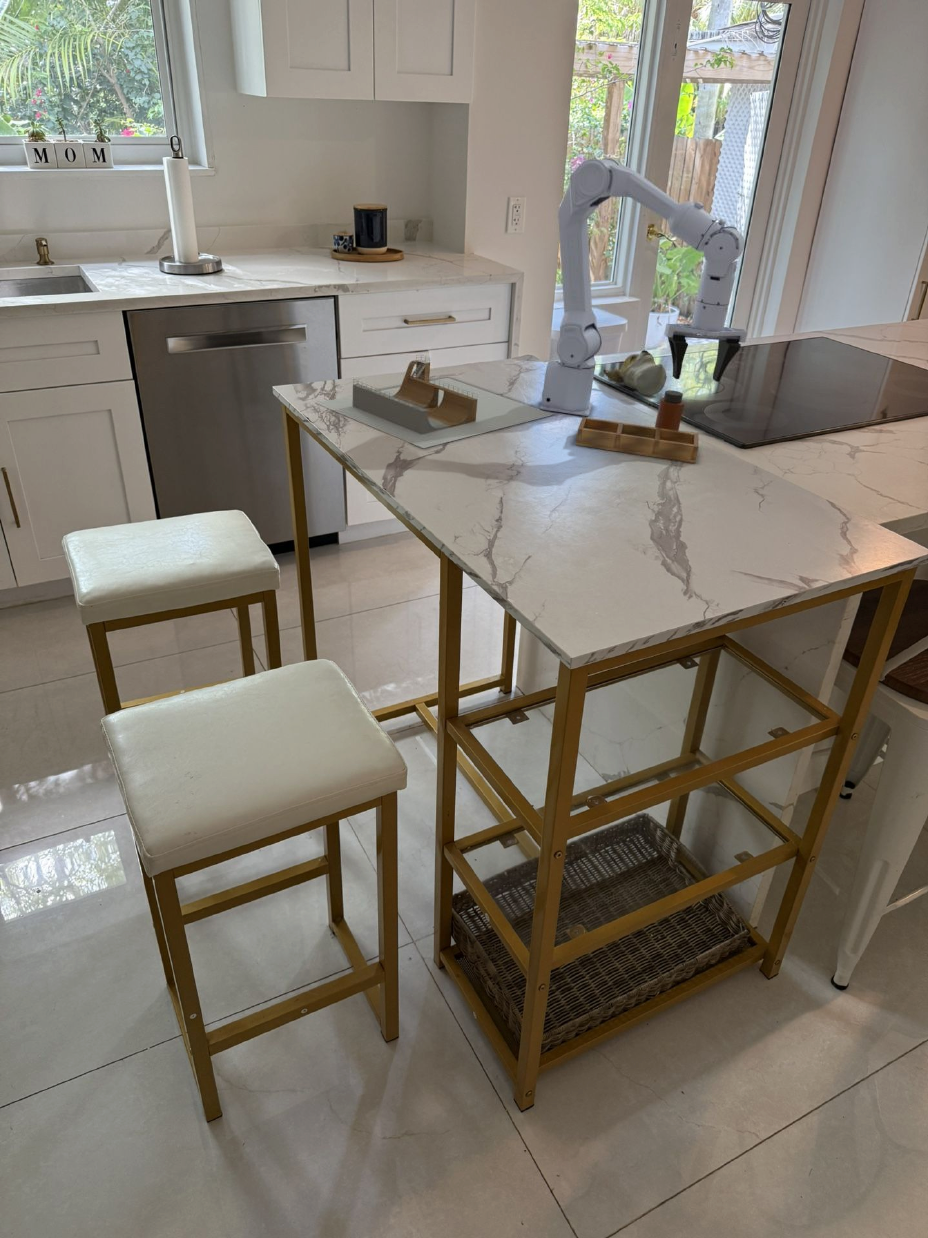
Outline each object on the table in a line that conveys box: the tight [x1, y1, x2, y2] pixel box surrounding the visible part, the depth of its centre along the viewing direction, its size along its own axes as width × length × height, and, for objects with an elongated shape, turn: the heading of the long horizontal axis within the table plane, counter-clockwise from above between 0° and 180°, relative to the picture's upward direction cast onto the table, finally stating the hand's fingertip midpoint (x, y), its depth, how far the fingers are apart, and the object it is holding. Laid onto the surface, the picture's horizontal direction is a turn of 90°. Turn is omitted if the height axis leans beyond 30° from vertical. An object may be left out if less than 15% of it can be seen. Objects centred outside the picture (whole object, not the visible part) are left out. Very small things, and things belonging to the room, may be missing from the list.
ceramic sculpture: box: [602, 349, 668, 397], centre depth 190 cm, size 11×9×15 cm
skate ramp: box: [315, 354, 555, 449], centre depth 165 cm, size 29×35×8 cm
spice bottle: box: [654, 389, 685, 431], centre depth 163 cm, size 4×4×8 cm
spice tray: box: [575, 416, 700, 464], centre depth 157 cm, size 21×8×3 cm, turn 77°
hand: (695, 378), depth 162 cm, fingers open, 7 cm apart
